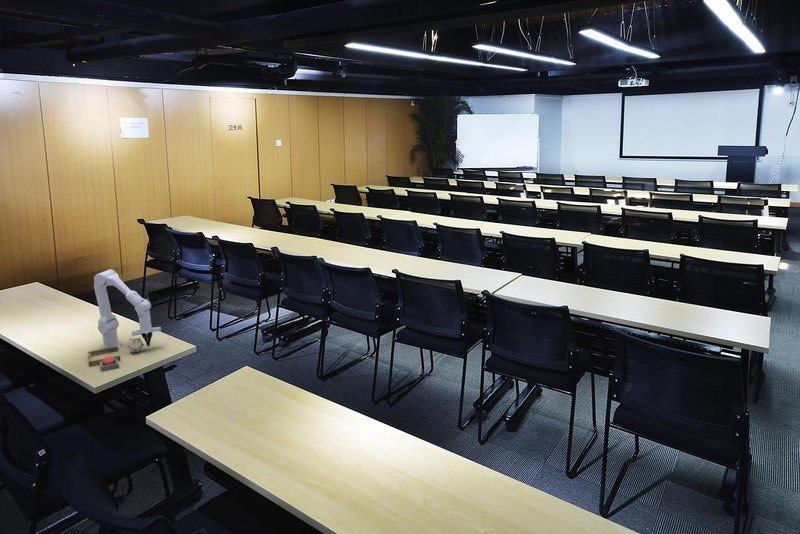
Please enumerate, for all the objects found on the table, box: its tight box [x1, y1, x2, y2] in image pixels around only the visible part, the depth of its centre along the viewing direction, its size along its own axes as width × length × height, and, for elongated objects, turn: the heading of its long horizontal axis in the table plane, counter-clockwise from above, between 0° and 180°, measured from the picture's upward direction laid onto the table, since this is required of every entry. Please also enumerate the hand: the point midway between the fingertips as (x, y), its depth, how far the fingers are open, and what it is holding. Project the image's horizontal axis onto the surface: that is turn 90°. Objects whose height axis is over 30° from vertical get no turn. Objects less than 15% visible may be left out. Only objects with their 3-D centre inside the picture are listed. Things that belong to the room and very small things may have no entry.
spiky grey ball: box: [125, 336, 145, 354], centre depth 297 cm, size 9×8×10 cm
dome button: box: [102, 355, 115, 366], centre depth 279 cm, size 5×5×4 cm
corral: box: [87, 346, 122, 368], centre depth 289 cm, size 15×14×2 cm
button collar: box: [99, 358, 120, 372], centre depth 280 cm, size 8×8×2 cm
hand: (148, 345), depth 300 cm, fingers closed
